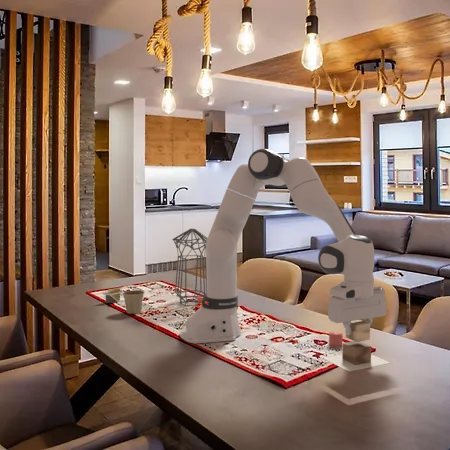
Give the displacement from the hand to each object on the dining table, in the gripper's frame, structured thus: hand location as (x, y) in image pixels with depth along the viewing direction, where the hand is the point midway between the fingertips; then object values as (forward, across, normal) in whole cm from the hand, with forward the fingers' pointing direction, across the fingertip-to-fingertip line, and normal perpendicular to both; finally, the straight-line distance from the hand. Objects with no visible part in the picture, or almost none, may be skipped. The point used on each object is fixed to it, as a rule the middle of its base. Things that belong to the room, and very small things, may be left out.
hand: (357, 333), depth 150 cm
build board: (+10, 0, 0) cm, 10 cm away
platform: (+10, +48, -112) cm, 123 cm away
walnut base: (+8, 0, 0) cm, 9 cm away
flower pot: (+10, +45, -90) cm, 101 cm away
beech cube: (+2, 0, 0) cm, 2 cm away
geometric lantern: (+10, +16, -94) cm, 96 cm away
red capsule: (+10, -4, -15) cm, 18 cm away
